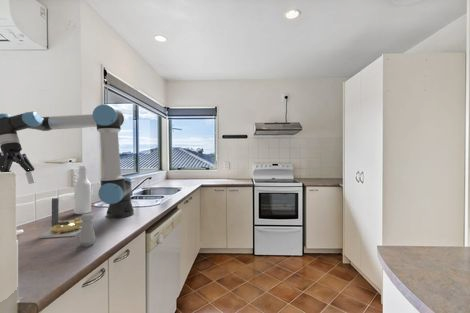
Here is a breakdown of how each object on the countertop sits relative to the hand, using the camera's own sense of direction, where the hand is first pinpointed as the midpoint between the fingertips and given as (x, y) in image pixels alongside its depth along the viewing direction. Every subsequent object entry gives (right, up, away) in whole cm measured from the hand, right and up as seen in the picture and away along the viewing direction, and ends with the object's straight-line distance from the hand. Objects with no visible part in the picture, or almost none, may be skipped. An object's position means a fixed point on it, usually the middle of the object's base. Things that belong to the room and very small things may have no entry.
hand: (22, 183), depth 113 cm
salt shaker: (+46, -23, -20) cm, 55 cm away
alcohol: (+11, -22, +28) cm, 38 cm away
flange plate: (+25, -23, -3) cm, 34 cm away
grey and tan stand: (+25, -21, -3) cm, 33 cm away
